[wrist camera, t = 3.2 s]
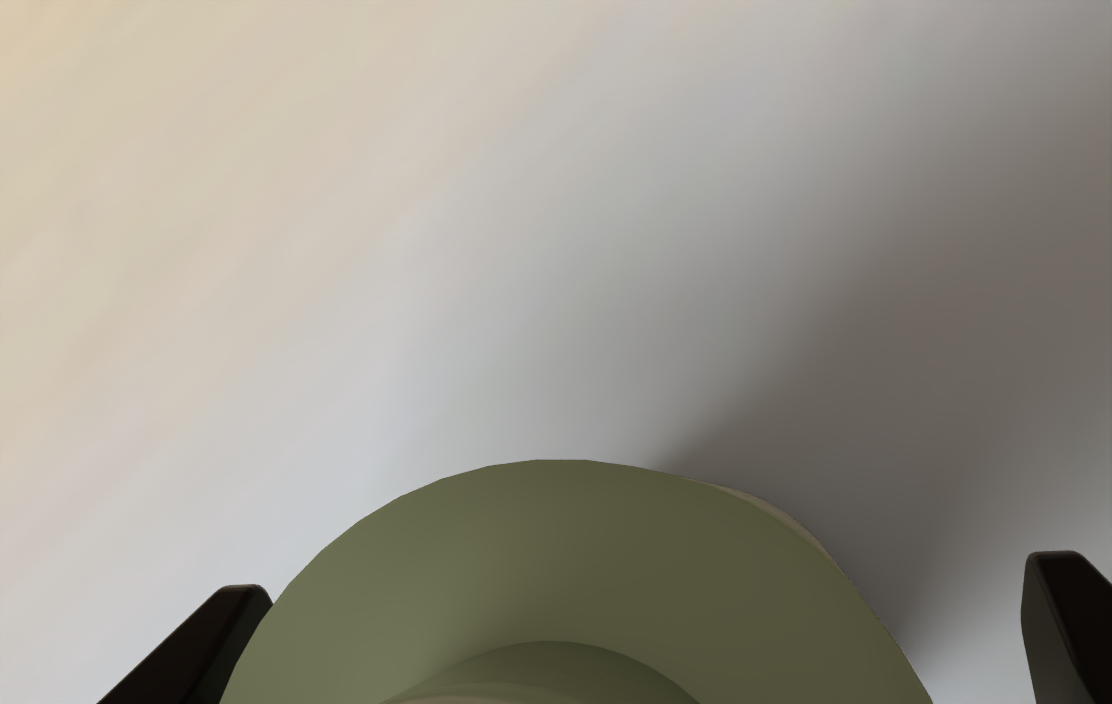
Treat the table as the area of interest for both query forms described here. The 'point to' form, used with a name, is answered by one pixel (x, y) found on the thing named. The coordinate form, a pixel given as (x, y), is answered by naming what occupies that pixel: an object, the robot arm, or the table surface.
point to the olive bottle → (573, 601)
